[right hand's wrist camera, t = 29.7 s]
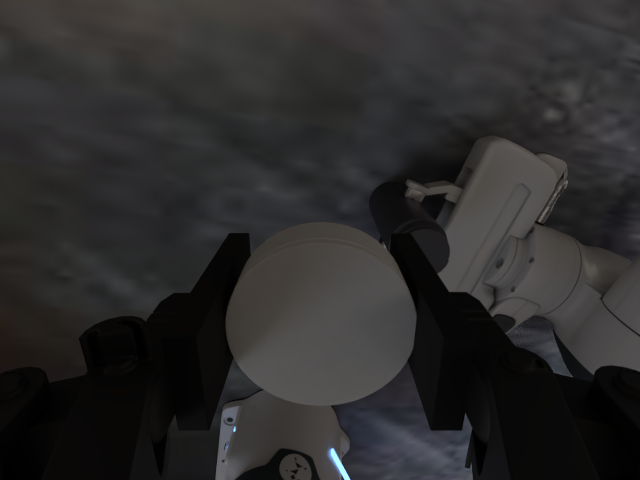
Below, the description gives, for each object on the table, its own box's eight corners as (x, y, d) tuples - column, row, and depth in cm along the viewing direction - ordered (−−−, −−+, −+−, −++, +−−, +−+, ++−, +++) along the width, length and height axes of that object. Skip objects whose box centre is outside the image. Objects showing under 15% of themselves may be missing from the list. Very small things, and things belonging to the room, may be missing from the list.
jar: (362, 213, 42) (381, 269, 28) (380, 175, 40) (410, 215, 26) (398, 228, 42) (434, 291, 28) (417, 192, 41) (466, 239, 27)
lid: (372, 381, 13) (379, 422, 12) (223, 346, 13) (209, 383, 11) (430, 248, 12) (449, 273, 10) (258, 200, 11) (247, 218, 9)
